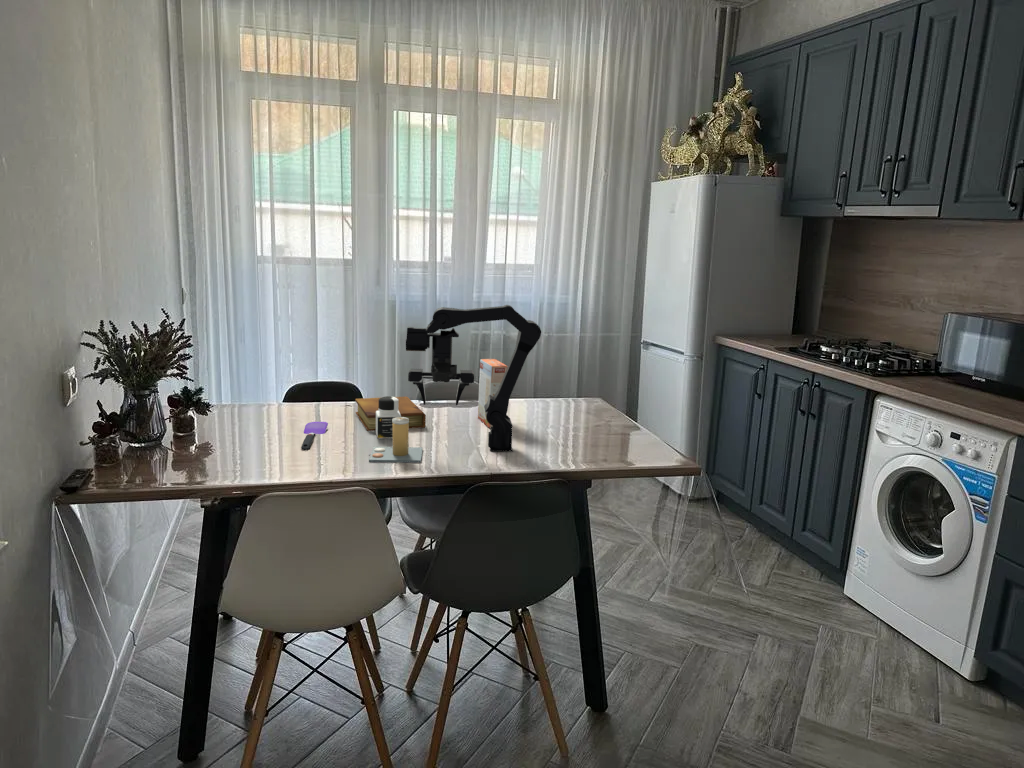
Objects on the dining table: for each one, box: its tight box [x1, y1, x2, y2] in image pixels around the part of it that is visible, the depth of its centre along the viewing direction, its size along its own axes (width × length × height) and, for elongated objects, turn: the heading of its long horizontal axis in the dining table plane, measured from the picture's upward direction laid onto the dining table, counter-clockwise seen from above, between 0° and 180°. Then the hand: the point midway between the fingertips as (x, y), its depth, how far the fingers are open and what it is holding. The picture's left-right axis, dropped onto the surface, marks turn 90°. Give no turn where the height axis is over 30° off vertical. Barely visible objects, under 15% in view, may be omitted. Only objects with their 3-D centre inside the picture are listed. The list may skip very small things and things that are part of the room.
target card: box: [368, 446, 423, 464], centre depth 197 cm, size 14×12×1 cm
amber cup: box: [392, 417, 409, 456], centre depth 196 cm, size 5×5×10 cm
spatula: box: [300, 421, 329, 451], centre depth 209 cm, size 24×7×2 cm, turn 6°
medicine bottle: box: [375, 396, 401, 440], centre depth 215 cm, size 7×7×12 cm
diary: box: [355, 396, 427, 432], centre depth 233 cm, size 23×19×6 cm
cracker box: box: [477, 358, 508, 429], centre depth 234 cm, size 14×6×21 cm, turn 18°
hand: (440, 404), depth 203 cm, fingers open, 9 cm apart
